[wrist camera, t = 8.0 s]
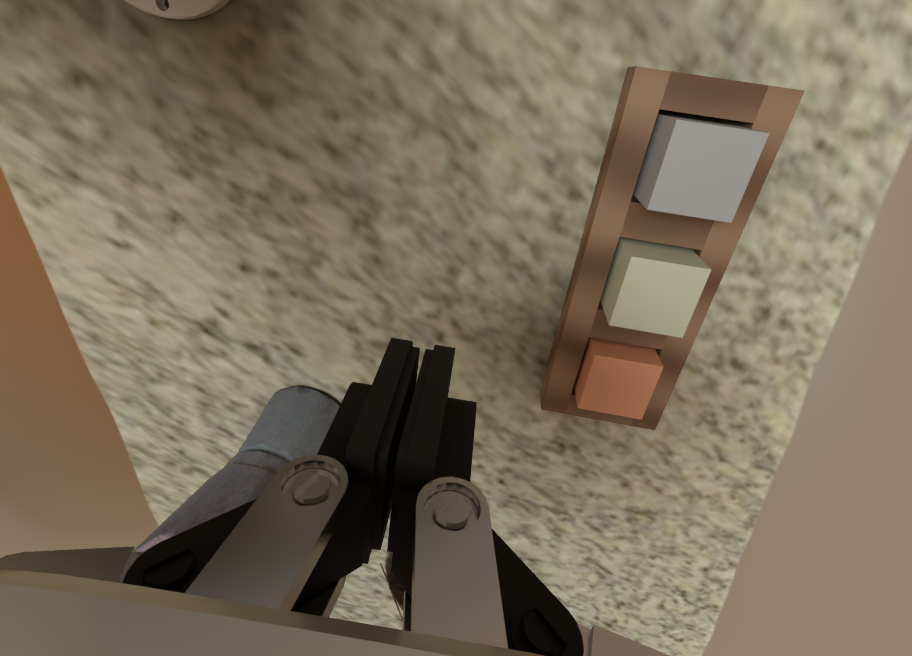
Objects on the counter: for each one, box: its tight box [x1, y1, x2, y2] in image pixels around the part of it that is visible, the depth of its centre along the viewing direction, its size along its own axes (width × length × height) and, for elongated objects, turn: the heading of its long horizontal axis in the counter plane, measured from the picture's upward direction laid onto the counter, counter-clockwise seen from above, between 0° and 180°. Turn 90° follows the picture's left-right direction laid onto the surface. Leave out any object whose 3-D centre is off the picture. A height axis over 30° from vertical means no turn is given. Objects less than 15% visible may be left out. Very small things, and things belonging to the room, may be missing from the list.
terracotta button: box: [574, 337, 664, 420], centre depth 37 cm, size 5×5×4 cm
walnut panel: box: [540, 67, 804, 430], centre depth 34 cm, size 26×10×2 cm, turn 173°
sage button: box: [600, 237, 711, 338], centre depth 32 cm, size 5×5×4 cm
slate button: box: [633, 114, 769, 223], centre depth 28 cm, size 5×5×4 cm
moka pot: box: [135, 386, 340, 552], centre depth 38 cm, size 10×15×20 cm, turn 112°
